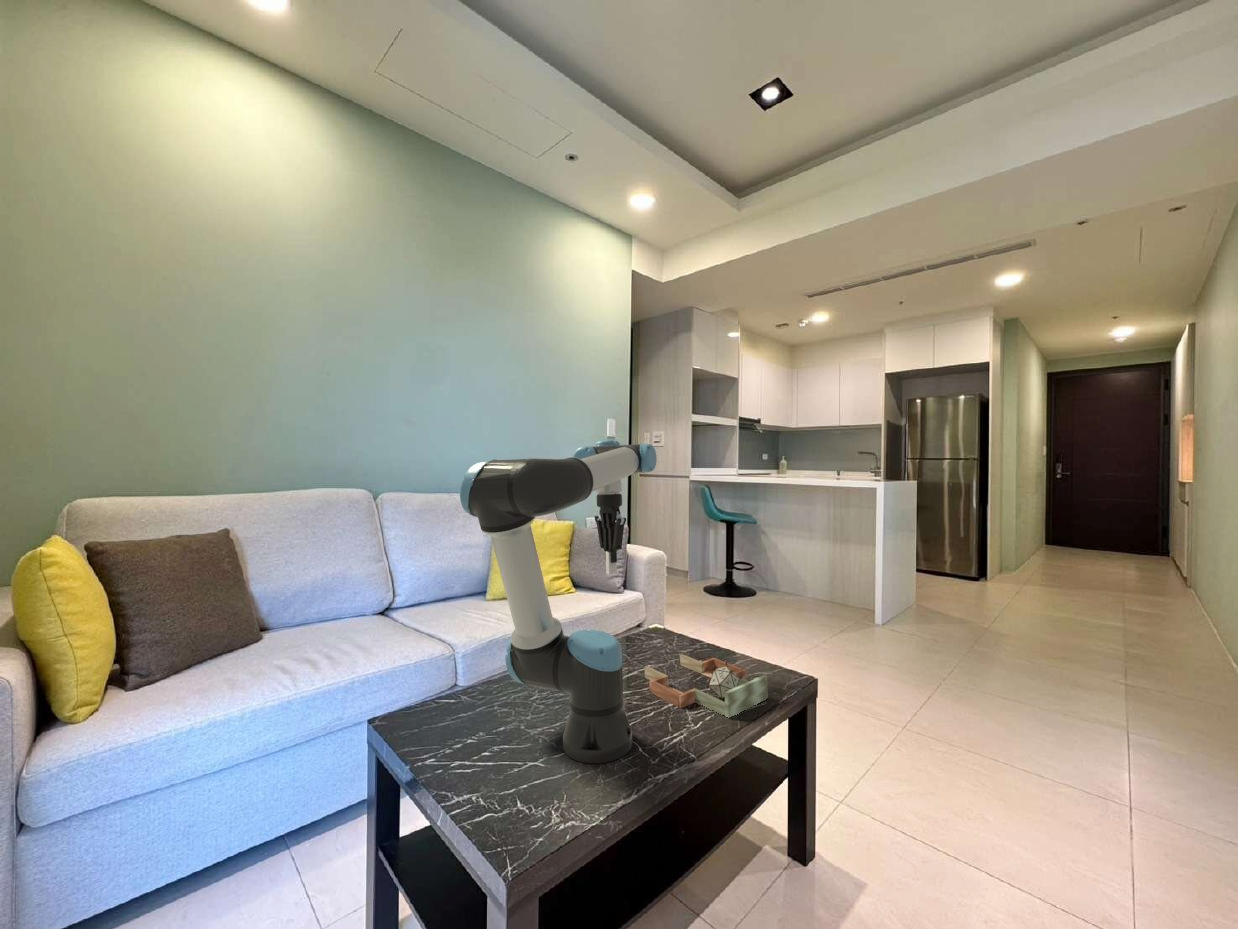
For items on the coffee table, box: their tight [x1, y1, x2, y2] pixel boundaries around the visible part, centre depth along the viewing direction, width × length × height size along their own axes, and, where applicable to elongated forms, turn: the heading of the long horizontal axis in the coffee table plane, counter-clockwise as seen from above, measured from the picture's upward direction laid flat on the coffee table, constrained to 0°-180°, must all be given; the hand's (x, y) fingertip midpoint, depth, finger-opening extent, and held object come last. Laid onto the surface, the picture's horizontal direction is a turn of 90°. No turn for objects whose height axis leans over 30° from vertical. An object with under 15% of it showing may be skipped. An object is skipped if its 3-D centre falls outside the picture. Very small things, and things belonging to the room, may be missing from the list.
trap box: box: [644, 654, 769, 719], centre depth 135 cm, size 25×31×6 cm
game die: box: [705, 662, 743, 701], centre depth 129 cm, size 9×8×10 cm
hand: (611, 573), depth 146 cm, fingers closed
